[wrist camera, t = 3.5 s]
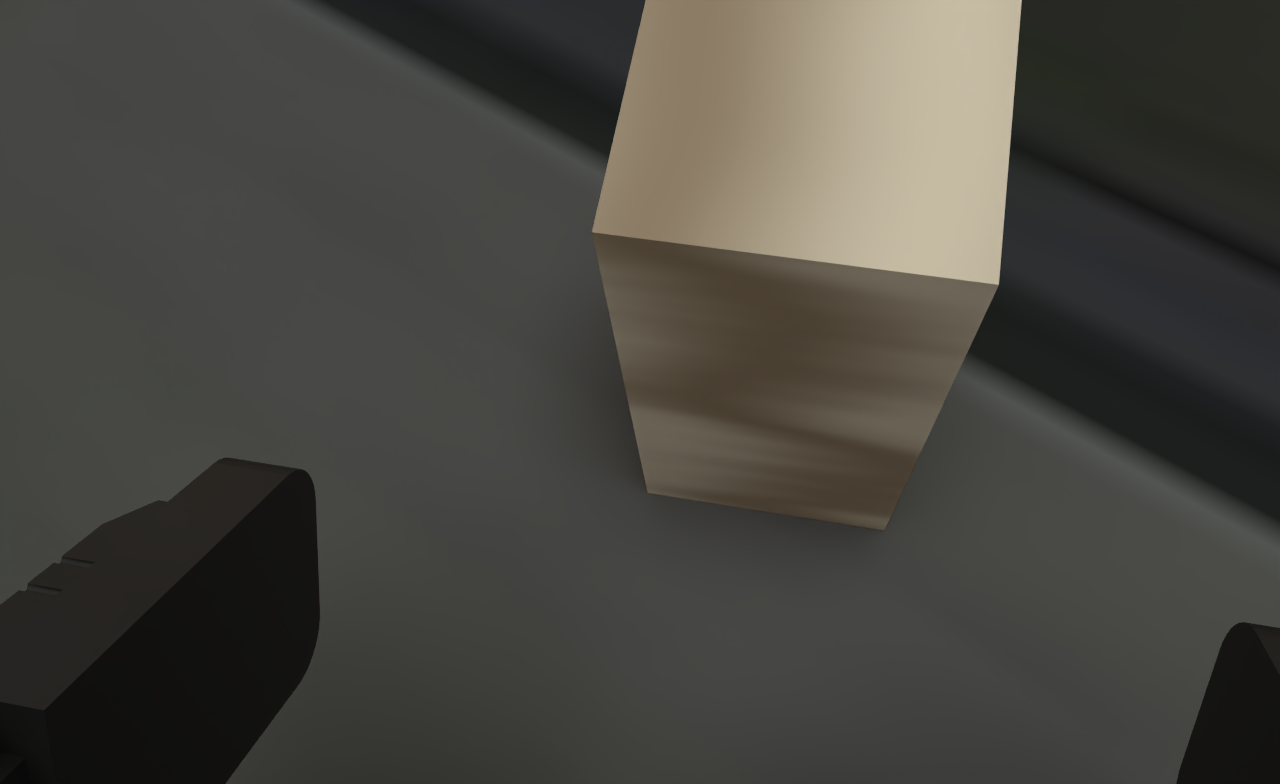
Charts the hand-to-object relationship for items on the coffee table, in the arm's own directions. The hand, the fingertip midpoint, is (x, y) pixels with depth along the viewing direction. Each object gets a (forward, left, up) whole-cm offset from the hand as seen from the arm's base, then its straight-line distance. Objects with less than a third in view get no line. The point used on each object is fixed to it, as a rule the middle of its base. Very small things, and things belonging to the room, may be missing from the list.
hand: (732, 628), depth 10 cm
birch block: (0, -7, -11) cm, 13 cm away
